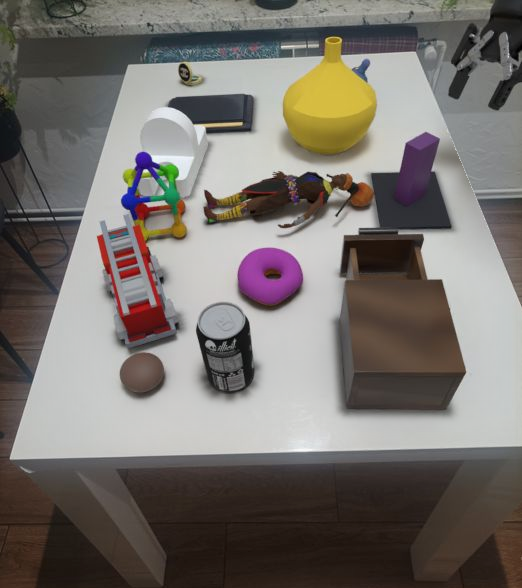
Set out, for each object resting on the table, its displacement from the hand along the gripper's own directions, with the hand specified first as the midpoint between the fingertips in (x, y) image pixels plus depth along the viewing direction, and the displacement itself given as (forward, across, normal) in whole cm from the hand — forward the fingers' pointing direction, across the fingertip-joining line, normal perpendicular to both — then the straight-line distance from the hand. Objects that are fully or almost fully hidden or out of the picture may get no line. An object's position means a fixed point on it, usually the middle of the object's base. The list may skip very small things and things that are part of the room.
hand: (472, 103), depth 76 cm
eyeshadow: (+14, -67, -20) cm, 72 cm away
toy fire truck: (+43, -4, -44) cm, 62 cm away
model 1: (+36, -20, -38) cm, 56 cm away
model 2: (+6, -39, +4) cm, 40 cm away
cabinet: (+35, +23, -18) cm, 46 cm away
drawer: (+29, +12, -15) cm, 35 cm away
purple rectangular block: (+17, -3, 0) cm, 17 cm away
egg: (+48, +9, -47) cm, 68 cm away
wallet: (+18, -50, -21) cm, 57 cm away
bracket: (+28, -36, -32) cm, 55 cm away
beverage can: (+43, +14, -37) cm, 59 cm away
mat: (+17, -3, 0) cm, 18 cm away
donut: (+35, +2, -27) cm, 44 cm away
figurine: (+26, -12, -18) cm, 34 cm away
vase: (+14, -27, -4) cm, 31 cm away
